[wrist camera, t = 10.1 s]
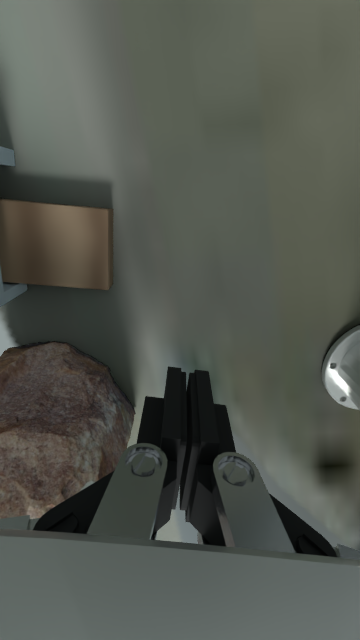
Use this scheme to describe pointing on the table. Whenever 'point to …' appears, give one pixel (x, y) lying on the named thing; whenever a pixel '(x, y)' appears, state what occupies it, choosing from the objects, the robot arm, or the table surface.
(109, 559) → the robot arm
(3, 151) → the bridge
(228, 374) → the table surface
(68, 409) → the stone
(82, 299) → the table surface
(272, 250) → the table surface
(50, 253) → the panel
